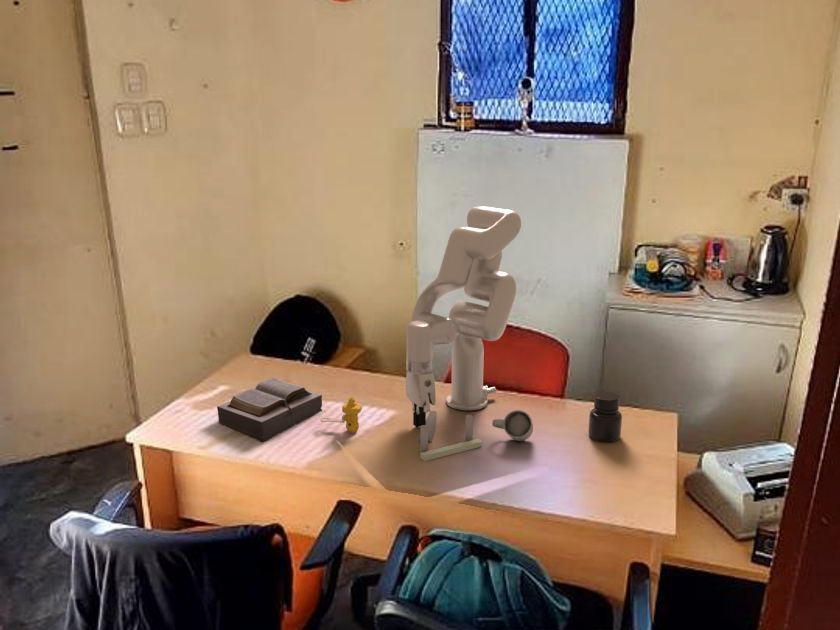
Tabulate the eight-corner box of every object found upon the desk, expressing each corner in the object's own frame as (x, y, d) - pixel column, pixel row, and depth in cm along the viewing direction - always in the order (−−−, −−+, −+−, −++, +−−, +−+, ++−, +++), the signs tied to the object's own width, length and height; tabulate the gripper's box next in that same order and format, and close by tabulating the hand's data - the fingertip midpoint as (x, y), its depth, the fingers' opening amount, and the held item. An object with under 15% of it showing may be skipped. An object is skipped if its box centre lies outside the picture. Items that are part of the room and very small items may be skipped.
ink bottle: (623, 431, 223) (626, 391, 219) (621, 444, 215) (624, 403, 211) (588, 426, 226) (590, 387, 222) (584, 439, 218) (587, 399, 214)
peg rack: (473, 440, 217) (473, 413, 215) (481, 446, 213) (482, 419, 211) (415, 454, 209) (415, 426, 207) (423, 461, 205) (424, 433, 203)
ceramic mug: (525, 446, 217) (539, 422, 218) (522, 443, 209) (537, 418, 210) (492, 427, 220) (506, 403, 221) (488, 423, 213) (503, 398, 214)
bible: (332, 419, 231) (331, 388, 228) (252, 447, 214) (249, 414, 211) (288, 397, 248) (287, 367, 245) (210, 421, 230) (208, 389, 228)
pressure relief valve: (358, 436, 220) (357, 403, 217) (317, 432, 222) (316, 399, 219) (363, 428, 225) (363, 395, 222) (323, 424, 227) (322, 392, 224)
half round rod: (417, 444, 216) (417, 438, 216) (426, 415, 235) (426, 410, 234) (432, 445, 216) (432, 439, 215) (440, 416, 234) (440, 411, 234)
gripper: (444, 370, 215) (443, 432, 220) (419, 354, 228) (419, 413, 233) (420, 375, 211) (419, 437, 217) (395, 358, 224) (396, 418, 229)
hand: (419, 424), depth 225 cm, fingers closed
